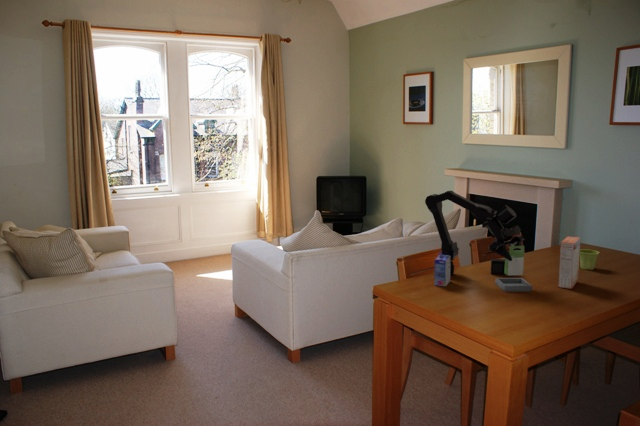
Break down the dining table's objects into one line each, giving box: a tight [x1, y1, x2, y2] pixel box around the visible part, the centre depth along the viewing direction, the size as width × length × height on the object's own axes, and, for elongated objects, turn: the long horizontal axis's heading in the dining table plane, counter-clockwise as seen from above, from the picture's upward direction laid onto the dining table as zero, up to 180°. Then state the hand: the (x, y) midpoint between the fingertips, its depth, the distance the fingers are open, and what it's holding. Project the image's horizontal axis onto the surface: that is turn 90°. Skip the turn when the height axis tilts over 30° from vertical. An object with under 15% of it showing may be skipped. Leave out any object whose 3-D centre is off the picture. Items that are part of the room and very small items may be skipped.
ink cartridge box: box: [434, 250, 451, 287], centre depth 247 cm, size 10×6×14 cm, turn 155°
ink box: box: [504, 245, 525, 277], centre depth 240 cm, size 7×4×13 cm, turn 94°
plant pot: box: [579, 248, 600, 271], centre depth 272 cm, size 9×9×9 cm
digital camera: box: [490, 258, 515, 277], centre depth 262 cm, size 10×5×7 cm, turn 74°
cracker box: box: [558, 235, 581, 290], centre depth 244 cm, size 14×6×21 cm, turn 145°
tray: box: [494, 277, 533, 293], centre depth 242 cm, size 12×12×2 cm
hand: (517, 259), depth 239 cm, fingers closed on ink box, 8 cm apart
